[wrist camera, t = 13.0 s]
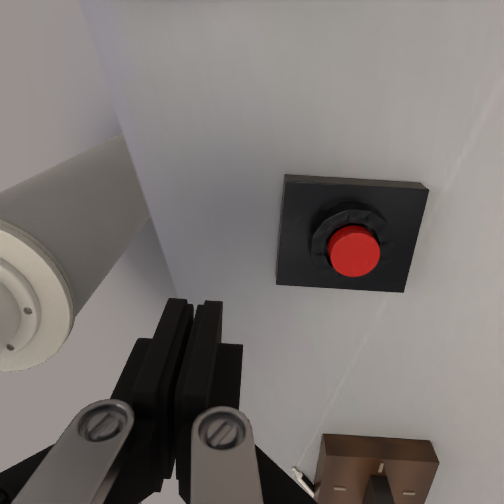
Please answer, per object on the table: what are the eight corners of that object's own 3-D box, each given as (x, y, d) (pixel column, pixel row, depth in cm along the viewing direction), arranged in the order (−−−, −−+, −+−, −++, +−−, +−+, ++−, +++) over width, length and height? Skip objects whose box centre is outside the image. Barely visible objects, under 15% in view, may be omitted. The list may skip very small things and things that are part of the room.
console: (312, 492, 54) (314, 516, 51) (323, 433, 49) (326, 456, 46) (410, 498, 54) (418, 523, 51) (430, 440, 49) (440, 464, 46)
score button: (324, 266, 35) (327, 275, 34) (331, 223, 33) (334, 231, 32) (370, 269, 35) (375, 278, 34) (379, 226, 33) (384, 234, 32)
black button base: (275, 273, 40) (276, 295, 36) (284, 174, 35) (286, 186, 32) (396, 281, 40) (410, 303, 36) (420, 182, 35) (438, 196, 32)
